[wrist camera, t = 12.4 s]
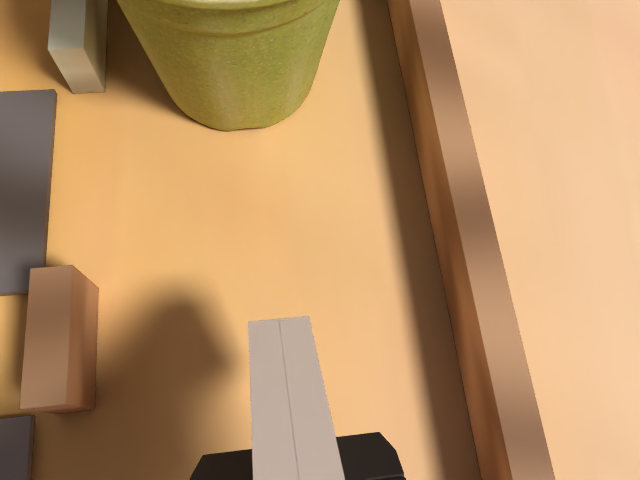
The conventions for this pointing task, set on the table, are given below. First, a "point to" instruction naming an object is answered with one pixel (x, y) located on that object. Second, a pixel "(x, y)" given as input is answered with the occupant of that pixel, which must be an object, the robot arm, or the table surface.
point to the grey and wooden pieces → (444, 208)
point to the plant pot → (233, 55)
